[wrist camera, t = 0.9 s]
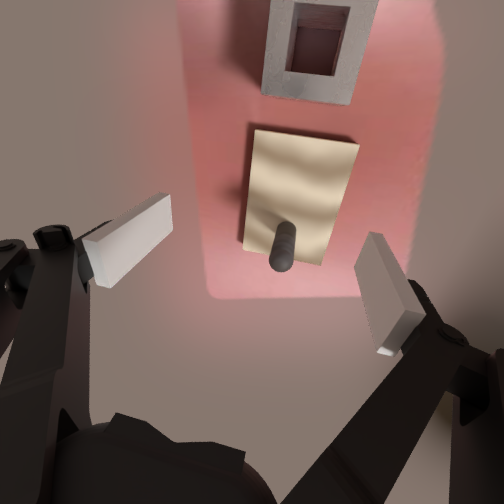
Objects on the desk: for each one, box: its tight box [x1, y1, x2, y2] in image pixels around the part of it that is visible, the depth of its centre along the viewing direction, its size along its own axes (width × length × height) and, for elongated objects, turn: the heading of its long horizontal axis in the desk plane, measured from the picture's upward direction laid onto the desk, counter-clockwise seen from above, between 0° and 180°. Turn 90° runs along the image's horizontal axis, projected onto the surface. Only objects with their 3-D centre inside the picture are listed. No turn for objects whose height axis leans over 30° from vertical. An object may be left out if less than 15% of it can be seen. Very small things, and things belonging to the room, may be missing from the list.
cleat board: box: [243, 129, 360, 272], centre depth 31 cm, size 18×13×12 cm
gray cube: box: [261, 0, 379, 106], centre depth 24 cm, size 9×9×7 cm
